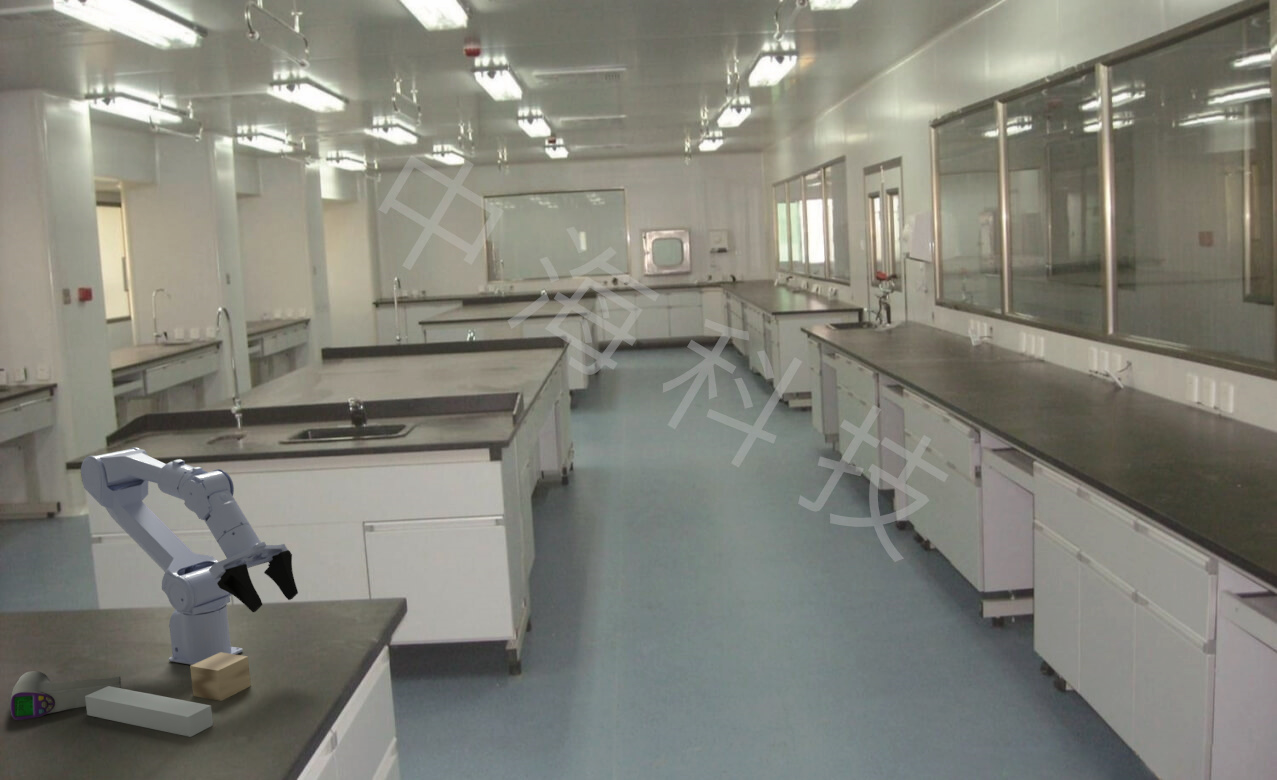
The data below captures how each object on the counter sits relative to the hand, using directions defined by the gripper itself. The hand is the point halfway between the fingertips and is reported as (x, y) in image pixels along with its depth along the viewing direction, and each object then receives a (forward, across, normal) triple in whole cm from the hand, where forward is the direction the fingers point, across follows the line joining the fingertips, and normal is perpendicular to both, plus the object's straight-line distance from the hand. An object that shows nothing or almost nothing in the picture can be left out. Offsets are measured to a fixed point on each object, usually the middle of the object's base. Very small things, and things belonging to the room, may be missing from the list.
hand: (276, 602), depth 169 cm
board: (+6, -20, +13) cm, 25 cm away
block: (+7, -8, +11) cm, 16 cm away
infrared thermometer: (-6, -19, +29) cm, 35 cm away
